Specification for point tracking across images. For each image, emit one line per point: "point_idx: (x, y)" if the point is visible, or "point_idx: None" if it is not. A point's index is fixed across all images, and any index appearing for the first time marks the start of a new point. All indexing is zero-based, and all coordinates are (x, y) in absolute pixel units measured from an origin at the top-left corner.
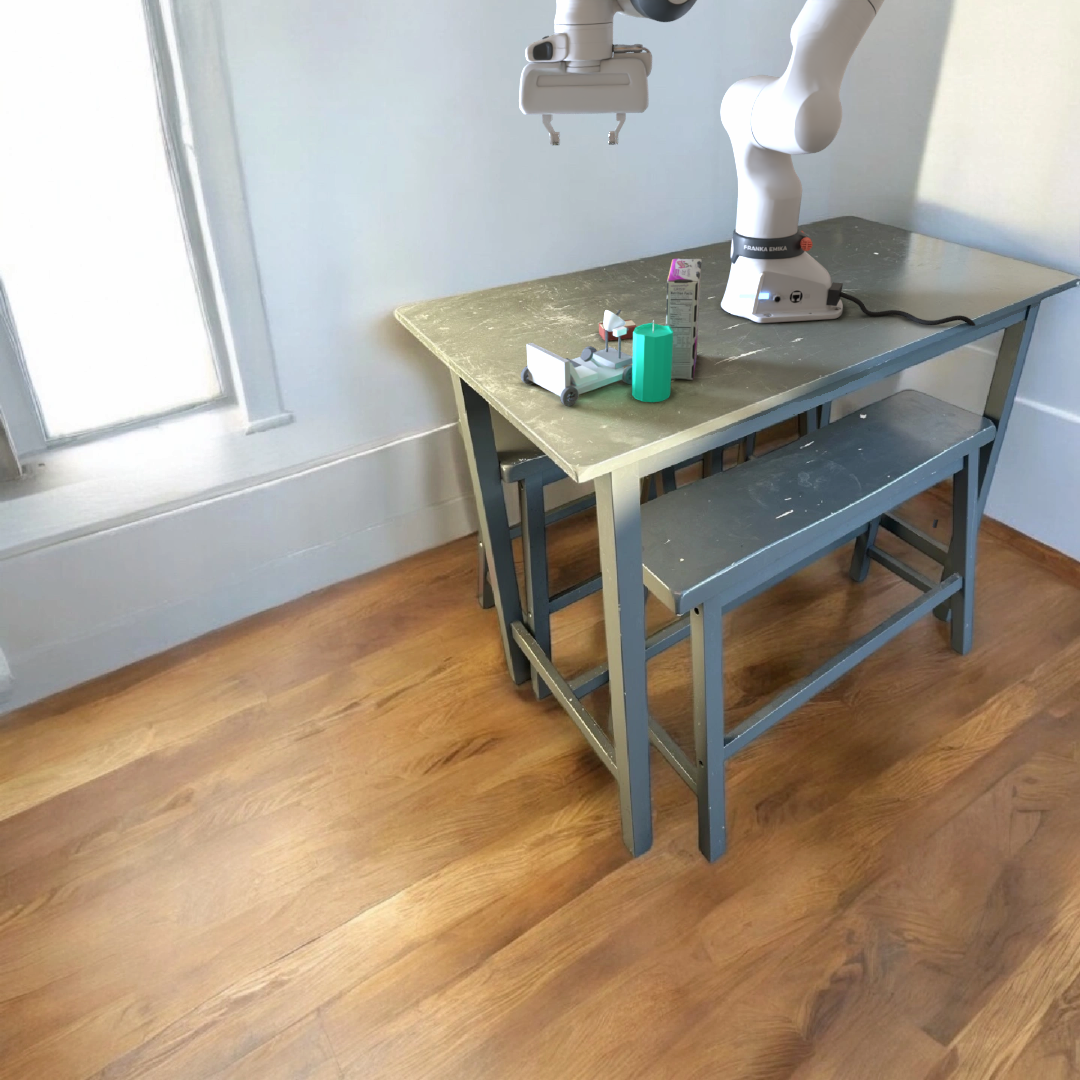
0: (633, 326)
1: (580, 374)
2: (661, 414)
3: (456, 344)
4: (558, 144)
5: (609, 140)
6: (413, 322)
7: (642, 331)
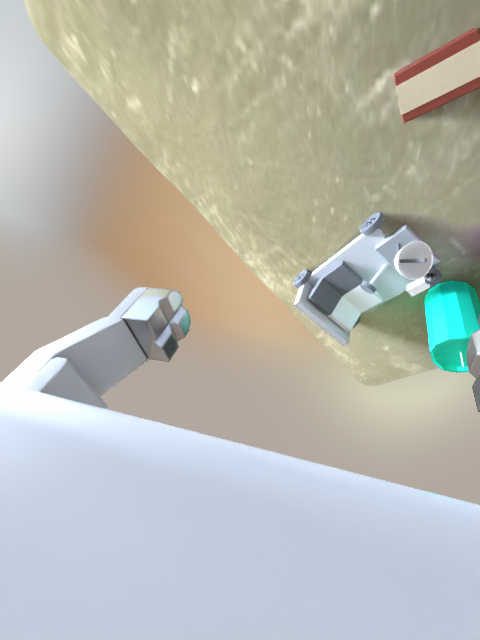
0: (474, 85)
1: (361, 303)
2: None
3: (182, 167)
4: (188, 325)
5: (474, 373)
6: (81, 82)
7: (445, 347)
